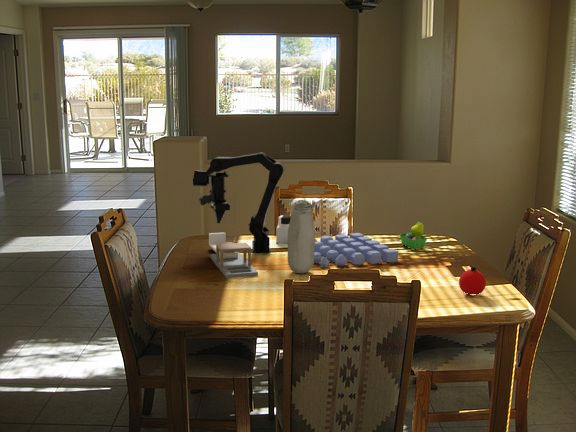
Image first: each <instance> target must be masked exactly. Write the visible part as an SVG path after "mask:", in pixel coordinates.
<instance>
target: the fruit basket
mask: <svg viewBox="0 0 576 432" xmlns="http://www.w3.org/2000/svg"><path fill="white" fill-rule="evenodd" d="M424 229H425V226H424V222H421V221H418V222H416V223H415V225H413V226H411V228H410V230H411V232H407V233H402V234H399V237H400V241H401V246H402V245H405V246H407V247H410V248H413V249H416V248H422V247H424V248H425V245H426V242H427V240H428V238H427V237H425V236H423V234H424ZM407 247H406V248H407Z"/></svg>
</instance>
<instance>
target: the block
mask: <svg viewBox="0 0 576 432" xmlns="http://www.w3.org/2000/svg"><path fill="white" fill-rule="evenodd" d="M233 243H234V242H233V241H226V242H223V243H220V244H233ZM233 252H236V251H230V252H223V253H233Z"/></svg>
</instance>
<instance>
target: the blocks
mask: <svg viewBox="0 0 576 432" xmlns="http://www.w3.org/2000/svg"><path fill="white" fill-rule="evenodd" d="M365 260H366V261H365ZM383 260H384V261H383ZM348 261H350V263H351V264H352V265H354V266H363V265H364V264H365V262H367V263H368V262H369V263H368V264H370V263H371V264H370V265H376V264H375V263H379V264H381V263H382V261H383V262H385V261H386V262H385V263H387V262H390V263H396V262H395V261H399V251H398V250H396V249H394V248H389V246H388V245H386V244H382V243H381V242H379V241H377V240H373V238H371V237H369V236H365V234H362V233H360V232H355V233H354V232H353V233H352V232H351V233H349V236H348V235H346V234H343V233H342V234H336V235H335V236H334V238H333V237H332V236H329V235H323V236H321V237H320V241H318V240H317V239H316V238H315V247H314V263H313V264H315V263H316V264H319V265H320V266H321V267H322V268H326V267H327V266H328V265H329V264H330V262H332V263H333V262H334V263H335V264H336V265H337V266H338V267H344V266H345V265H346V264H347V263H348Z"/></svg>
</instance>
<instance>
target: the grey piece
mask: <svg viewBox="0 0 576 432" xmlns="http://www.w3.org/2000/svg"><path fill="white" fill-rule="evenodd" d="M232 243H233V244H218V245H216V252H215V253H210V256H209V257H210V259H211V260H212V262H213V263H214V264H215V266H216V267H217V268H218V270H219V271H220V273H222V275H223V276H224V277H225V279H238V278H248V277H259V271H257V269H256V268H255V267H254V266H253V264H252V246H250V245H249V244H248V243H247V242H237V243H234V242H232ZM219 251H220V257H219ZM230 251H235V252H238V258H226V259H223V252H230ZM242 251H243V255H242V254H241V253H240V252H242Z"/></svg>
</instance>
